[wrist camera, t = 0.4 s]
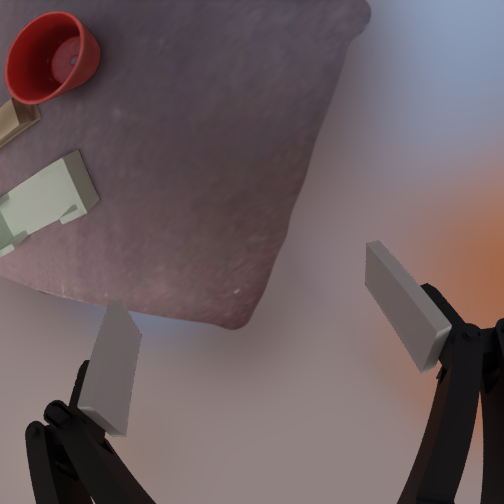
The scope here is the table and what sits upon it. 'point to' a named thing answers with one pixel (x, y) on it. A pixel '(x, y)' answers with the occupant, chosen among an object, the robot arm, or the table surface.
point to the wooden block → (16, 119)
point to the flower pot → (50, 58)
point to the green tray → (46, 200)
